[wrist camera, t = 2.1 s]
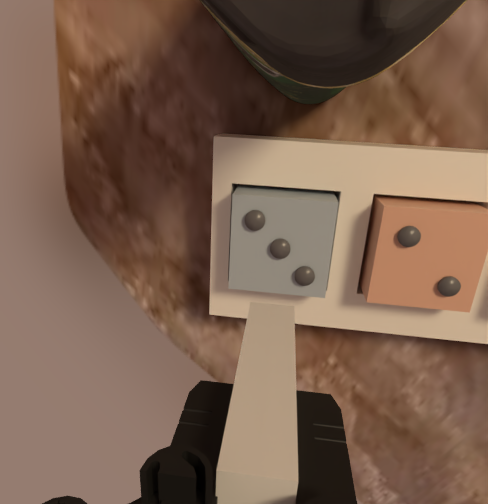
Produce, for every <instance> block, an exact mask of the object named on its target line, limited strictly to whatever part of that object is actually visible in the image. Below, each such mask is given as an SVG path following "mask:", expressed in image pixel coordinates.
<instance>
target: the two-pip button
mask: <svg viewBox="0 0 488 504" xmlns="http://www.w3.org/2000/svg"><path fill="white" fill-rule="evenodd" d="M487 252H488V209H486V208H484V207H482V206H480V205H478V204H476V203H474V202H464V201H451V200H437V199H424V198H411V197H397V196H384V195H374V196H373V201H372V207H371V213H370V219H369V224H368V230H367V236H366V242H365V247H364V253H363V259H362V265H361V270H360V276H359V284H360V287H361V289H362V292H363V294H364V297H365V300H366V302H369V303H379V304H389V305H399V306H409V307H419V308H429V309H439V310H450V311H460V312H470V310H471V306H472V303H473V299H474V296H475V293H476V289H477V286H478V282H479V279H480V276H481V272H482V269H483V265H484V262H485V259H486V255H487Z"/></svg>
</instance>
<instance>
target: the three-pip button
mask: <svg viewBox="0 0 488 504" xmlns="http://www.w3.org/2000/svg"><path fill="white" fill-rule="evenodd" d="M338 203H339V202H338V200H337V198H336V196H335V194H334V192H330V191H317V190H303V189H290V188H277V187H263V186H250V185H239V186H238V187H237V188H236V190H235V191H234V193H233V194H232V216H231V240H230V263H229V287H228V289H238V290H248V291H258V292H268V293H278V294H288V295H298V296H309V297H319V298H325V295H326V288H327V281H328V274H329V267H330V260H331V252H332V245H333V238H334V231H335V224H336V217H337V210H338Z"/></svg>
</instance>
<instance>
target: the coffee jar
mask: <svg viewBox="0 0 488 504" xmlns="http://www.w3.org/2000/svg"><path fill="white" fill-rule="evenodd" d="M200 1H201V2H202V4H203V5H204V6H205V7H206V9H207V10H208V11H209V12H210V14H211V15H212V16H213V18H214V19H215V20H216V21H217V23H218V24H219V25H220V27H221V28H222V29H223V30H224V31H225V33H226V34H227V35H228V37H229V38H230V39H231V41H232V42H233V43H234V45H235V46H236V47H237V48H238V50H239V51H240V52H241V53H242V54H243V55H244V57H245V58H246V59H247V60H248V61H249V62H250V64H251V65H252V66H253V67H254V68H255V69H256V70H257V71H258V72H259V73H260V74H261V75H262V76H263V77H264V78H265V79H266V80H267V81H268V82H269V83H270V84H271V85H273V86H274V87H275V88H276V89H277V90H279V91H280V92H281V93H282V94H284V95H285V96H286V97H288V98H289V99H291V100H293V101H296V102H299V103H303V104H316V103H321V102H323V101H326V100H328V99H330V98H332V97H333V96H335V95H336V94H338V93H339V92H340V91H342V90H343V89H344V88H346V87H347V86H351V85H355V84H359V83H362V82H364V81H367V80H370V79H372V78H374V77H376V76H378V75H379V74H381V73H383V72H384V71H386V70H387V69H389V68H391V67H392V66H393V65H395V64H396V63H397V62H399V61H400V60H402V59H403V58H404V57H406V56H407V55H408V54H410V53H411V52H412V51H413V50H415V49H416V48H417V47H418V46H419V45H420V44H421V43H422V42H424V41H425V40H426V39H427V38H428V37H429V36H430V35H432V34H433V33H434V32H435V31H436V30H437V29H438V28H439V27H440V26H441V25H443V24H444V23H445V22H446V21H447V20H448V19H449V18H450V17H451V16H452V15H453V14H454V13H455V12H456V11H457V10H458V9H459V8H460V7H461V6H462V5H463V4H464V3H465V2H466V1H467V0H200Z"/></svg>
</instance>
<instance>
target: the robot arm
mask: <svg viewBox="0 0 488 504" xmlns="http://www.w3.org/2000/svg"><path fill="white" fill-rule="evenodd" d="M140 482H141V498H139V499H137V500H135V501H133V502H131V503H129V504H357V501H356V496H355V490H354V484H353V478H352V472H351V466H350V460H349V454H348V448H347V444H346V437H345V431H344V425H343V419H342V413H341V409H340V407H339V406H338V405H337V403H336V402H335V400H334V399H333V397H332V396H331V394H323V393H314V392H306V391H297V390H296V355H295V312H294V306H288V305H278V304H268V303H257V302H250V307H249V312H248V317H247V321H246V326H245V331H244V336H243V341H242V346H241V351H240V356H239V361H238V366H237V371H236V376H235V381H234V384H227V383H219V382H211V381H200V382H199V383H198V384H197V385H196V386H195V387H194V388H193V389H192V390H191V391H190V392H189V395H188V397H187V400H186V403H185V406H184V410H183V411H182V414H181V417H180V420H179V424H178V426H177V428H176V432H175V434H174V437H173V440H172V443H171V445H170V446H169V447H166V448H163V449H161V450H158V451H157V452H156V453H154V454H153V455H152V456H150V457H149V458H148V459H147V460H146V462H145V463H144V465H143V466H142V468H141V469H140ZM43 504H87V503H86V502H85V501H83V500H82V499H81V498H76V497H71V496H64V497H58V498H53V499H51V500H49V501H47V502H45V503H43Z"/></svg>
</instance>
